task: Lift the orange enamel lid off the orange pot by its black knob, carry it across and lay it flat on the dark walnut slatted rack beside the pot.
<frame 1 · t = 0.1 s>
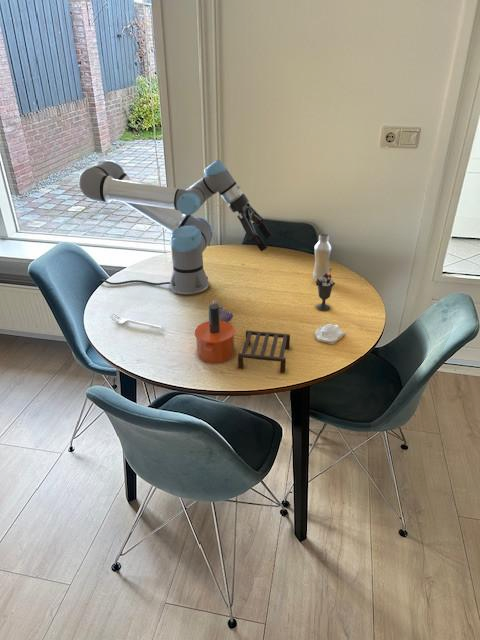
hand: (266, 243, 189), 15 cm above the table, tool tilted 35°, fingers open, 13 cm apart
rack: (264, 357, 148), on the table
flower: (218, 325, 165), on the table
sundae: (323, 308, 175), on the table
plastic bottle: (320, 283, 193), on the table
rose: (329, 337, 158), on the table
pot: (215, 352, 150), on the table
lid: (214, 332, 146), point 7 cm above the table, touching pot
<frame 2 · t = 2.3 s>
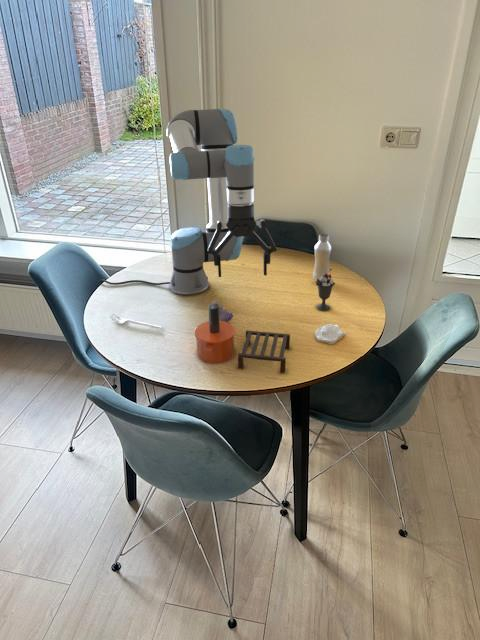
hand: (242, 274, 144), 24 cm above the table, tool pointing down, fingers open, 13 cm apart
nothing on the table moved.
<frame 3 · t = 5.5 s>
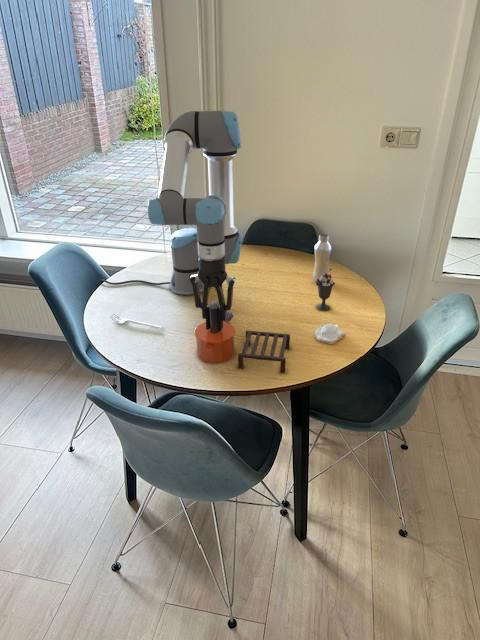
hand: (214, 328, 146), 9 cm above the table, tool pointing down, fingers closed on lid, 3 cm apart
lid: (214, 332, 146), point 8 cm above the table, touching gripper, pot
everything else where it was.
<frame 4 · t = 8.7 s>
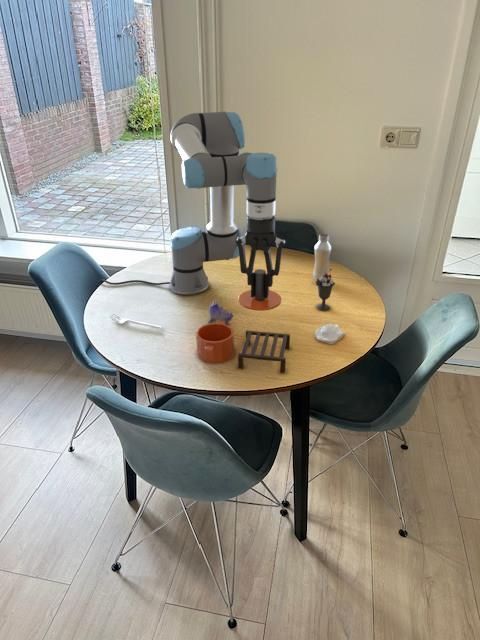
hand: (259, 295, 137), 21 cm above the table, tool pointing down, fingers closed on lid, 3 cm apart
lid: (259, 300, 138), point 20 cm above the table, touching gripper
everything else where it was.
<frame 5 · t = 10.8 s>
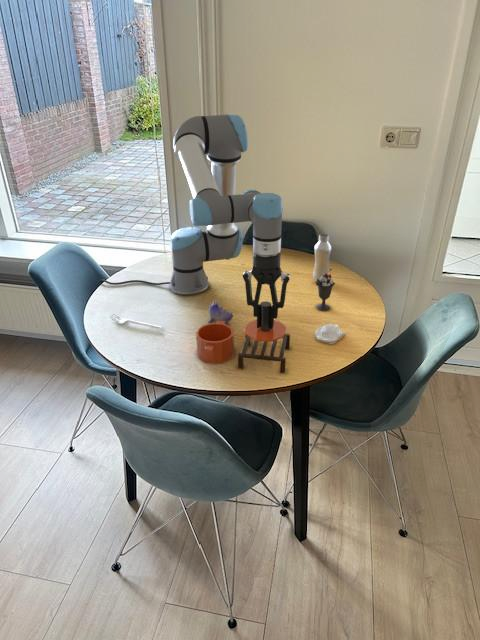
hand: (265, 326, 142), 11 cm above the table, tool pointing down, fingers closed on lid, 3 cm apart
lid: (265, 330, 143), point 10 cm above the table, touching gripper
everything else where it was.
when the fingers open (7 cm above the table, at t = 12.0 s): lid stays where it is, resting on rack.
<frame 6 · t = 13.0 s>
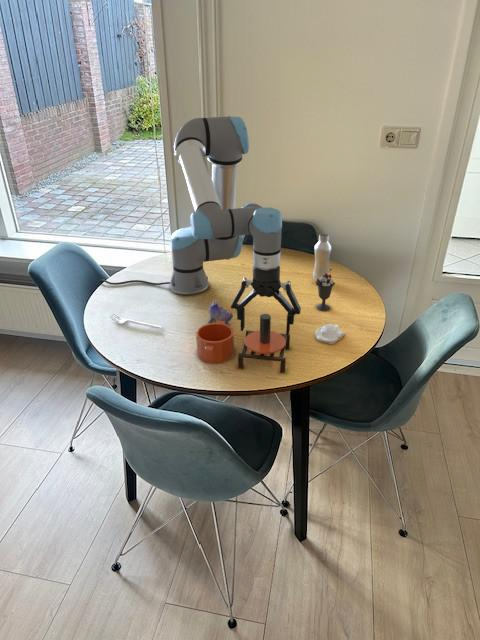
hand: (265, 331, 143), 10 cm above the table, tool pointing down, fingers open, 13 cm apart
lid: (264, 342, 145), point 6 cm above the table, touching rack
everything else where it was.
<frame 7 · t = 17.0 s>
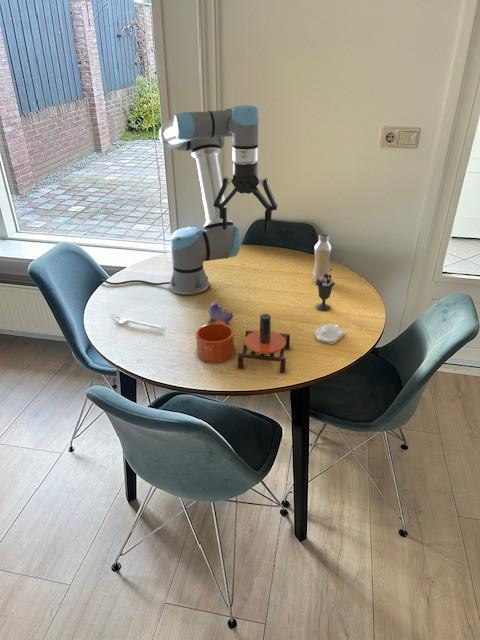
hand: (245, 229, 155), 32 cm above the table, tool pointing down, fingers open, 13 cm apart
nothing on the table moved.
at the end: lid 0.1 cm off-centre on the rack, point 5.6 cm above the rack's base; lid tilted 0°; the gripper is holding nothing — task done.
